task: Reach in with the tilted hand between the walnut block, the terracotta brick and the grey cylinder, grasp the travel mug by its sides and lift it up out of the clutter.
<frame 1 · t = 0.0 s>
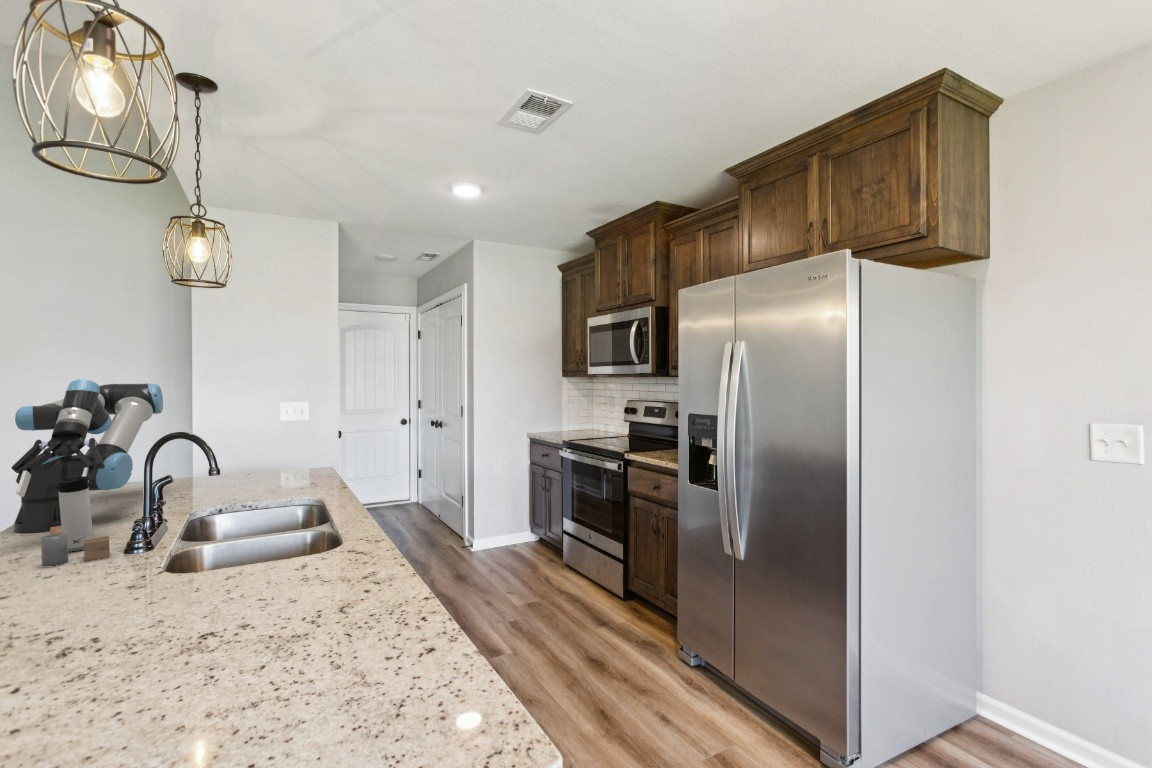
hand: (51, 492, 156), 16 cm above the worktop, tool tilted 35°, fingers open, 13 cm apart
terracotta brick: (63, 541, 164), on the worktop
walnut block: (97, 557, 149), on the worktop
grey cylinder: (55, 563, 145), on the worktop
travel mug: (79, 548, 157), on the worktop, touching gripper
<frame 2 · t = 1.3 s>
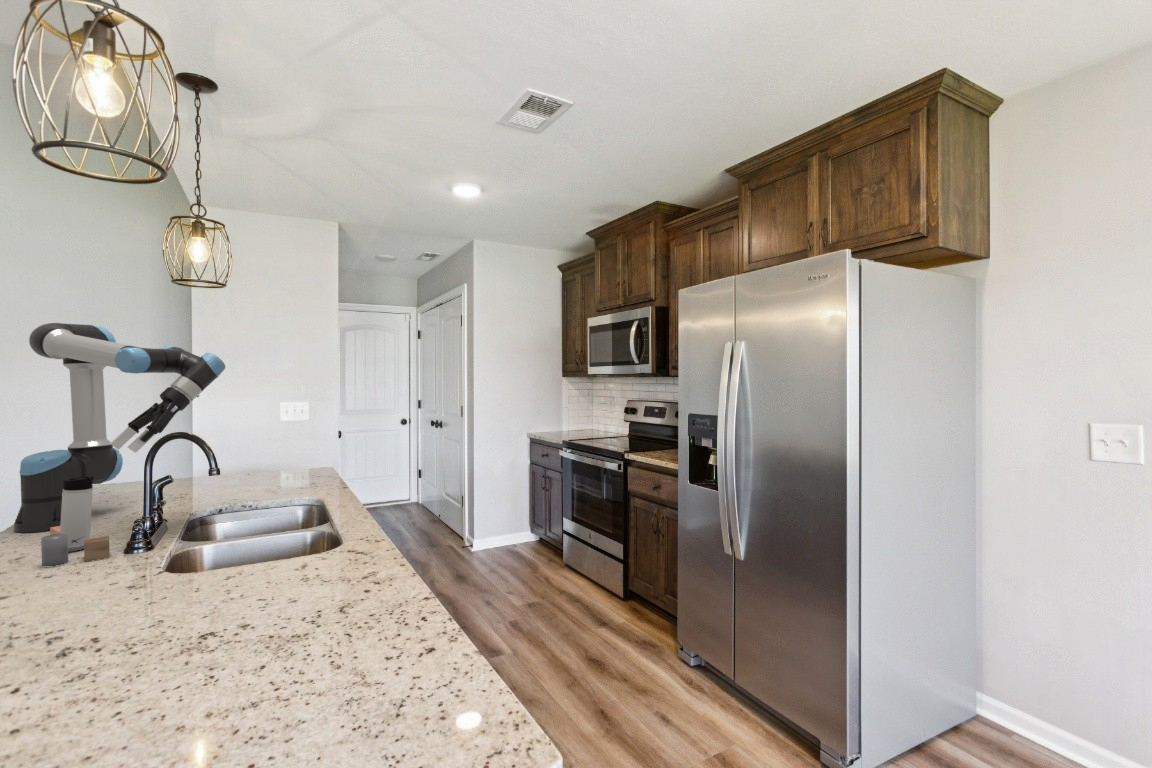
hand: (122, 448, 164), 27 cm above the worktop, tool tilted 45°, fingers open, 13 cm apart
travel mug: (74, 549, 156), on the worktop
everything else where it was.
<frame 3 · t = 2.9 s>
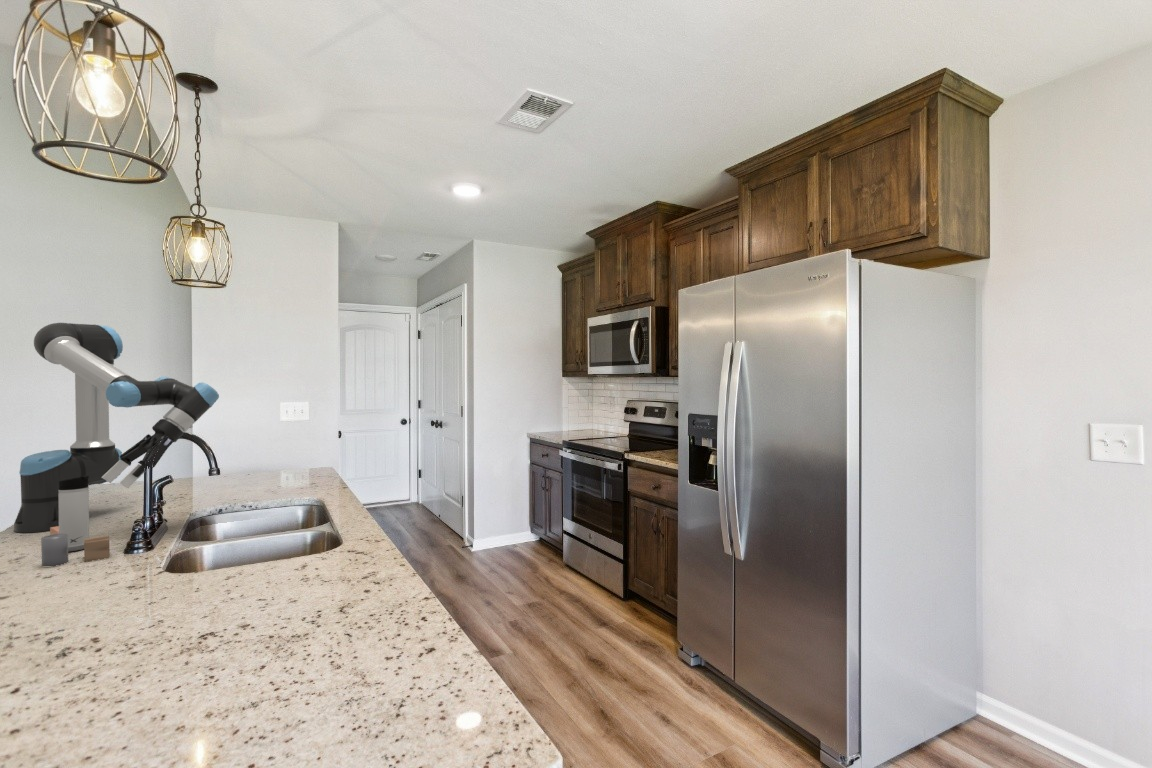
hand: (114, 482, 162), 17 cm above the worktop, tool tilted 45°, fingers open, 13 cm apart
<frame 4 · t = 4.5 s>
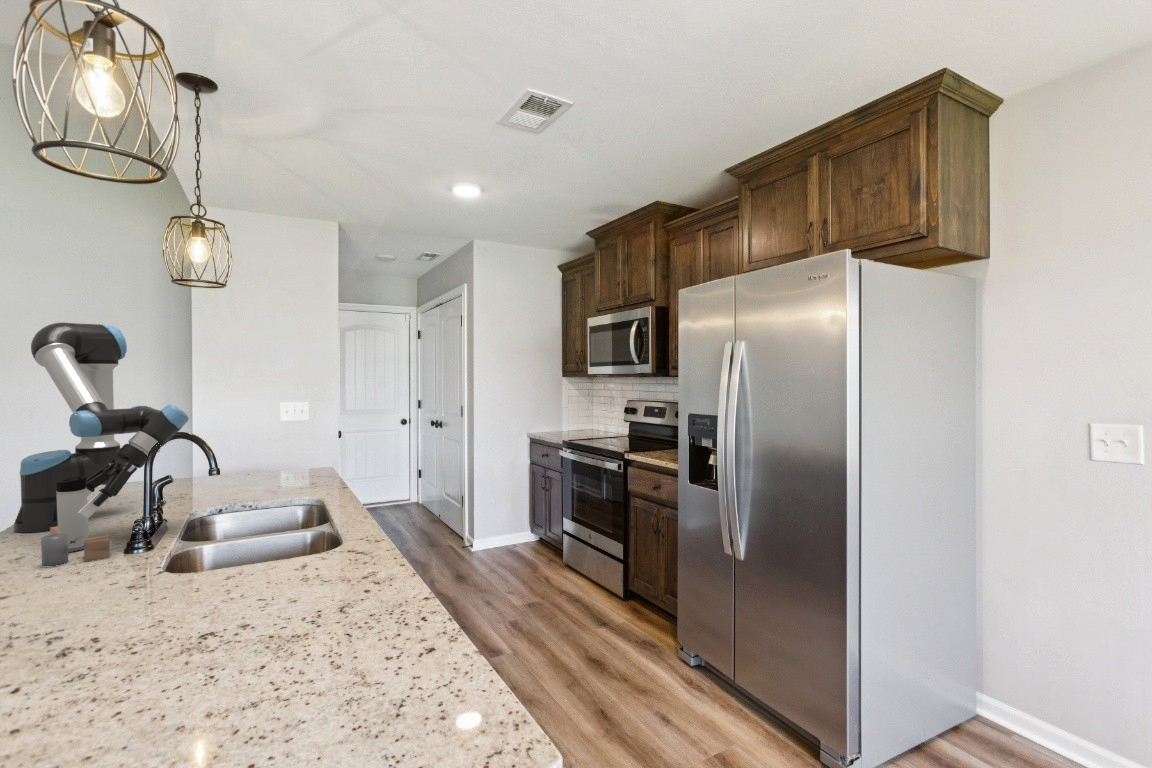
hand: (74, 511, 155), 11 cm above the worktop, tool tilted 45°, fingers open, 13 cm apart
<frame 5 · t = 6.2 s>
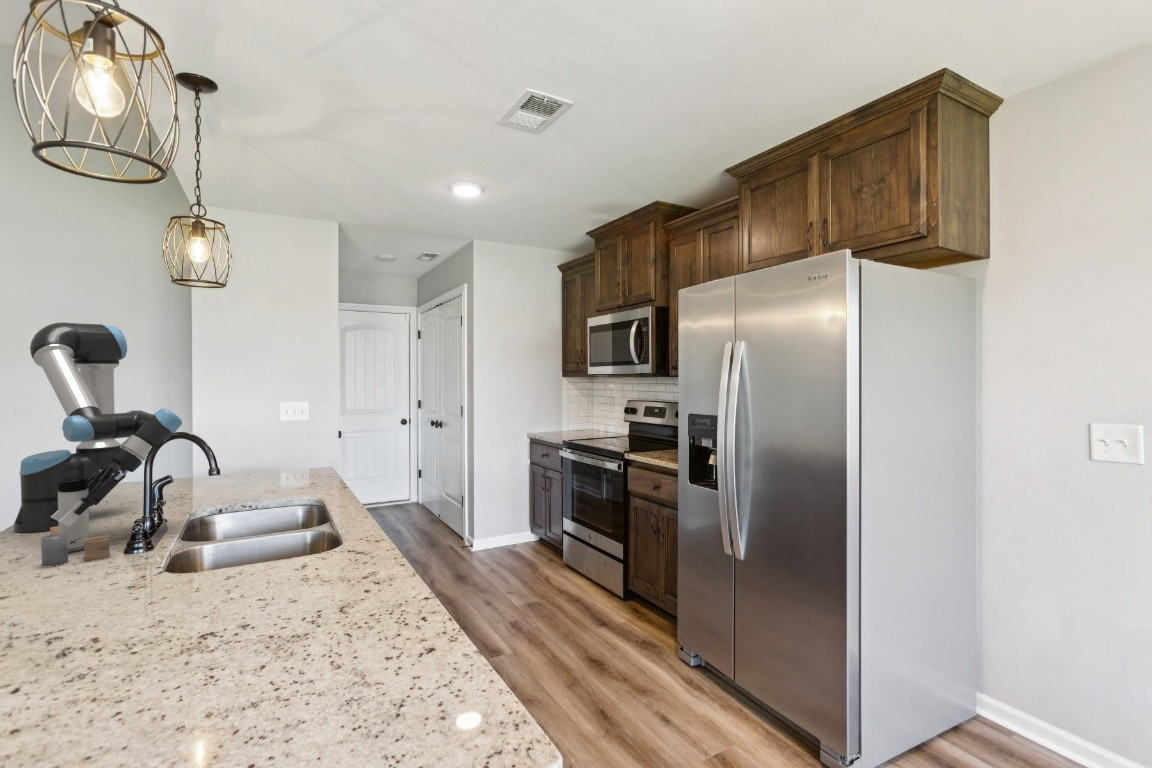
hand: (59, 521, 153), 8 cm above the worktop, tool tilted 45°, fingers closed on travel mug, 7 cm apart
travel mug: (74, 549, 156), on the worktop, touching gripper
everything else where it was.
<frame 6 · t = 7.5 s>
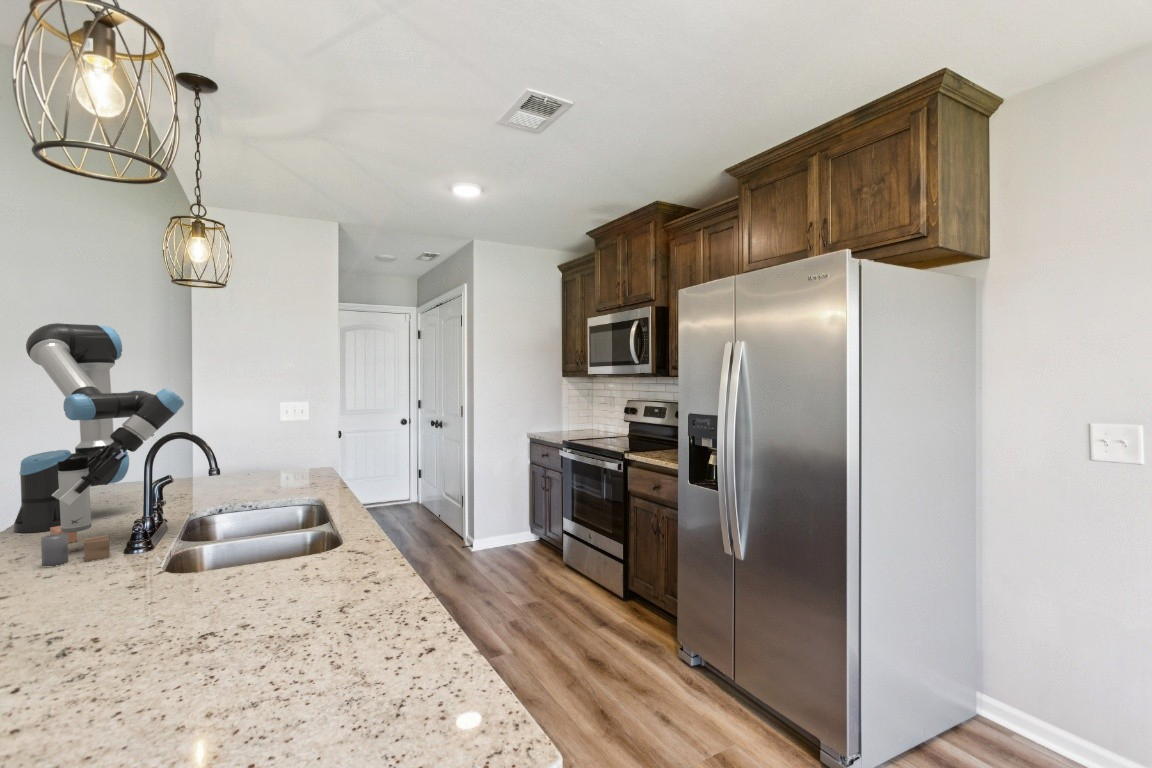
hand: (60, 500, 152), 14 cm above the worktop, tool tilted 45°, fingers closed on travel mug, 6 cm apart
travel mug: (77, 530, 155), point 6 cm above the worktop, touching gripper
everything else where it was.
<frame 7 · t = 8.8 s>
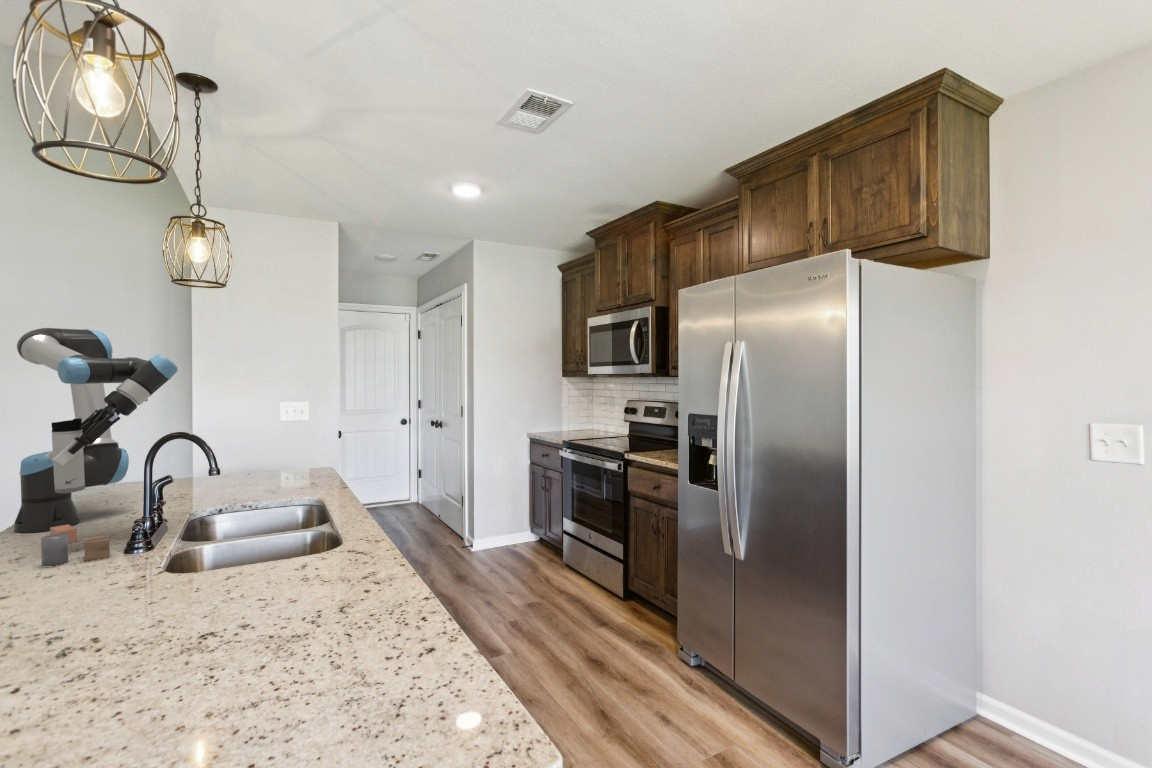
hand: (54, 460, 153), 25 cm above the worktop, tool tilted 45°, fingers closed on travel mug, 6 cm apart
travel mug: (70, 491, 156), point 16 cm above the worktop, touching gripper
everything else where it was.
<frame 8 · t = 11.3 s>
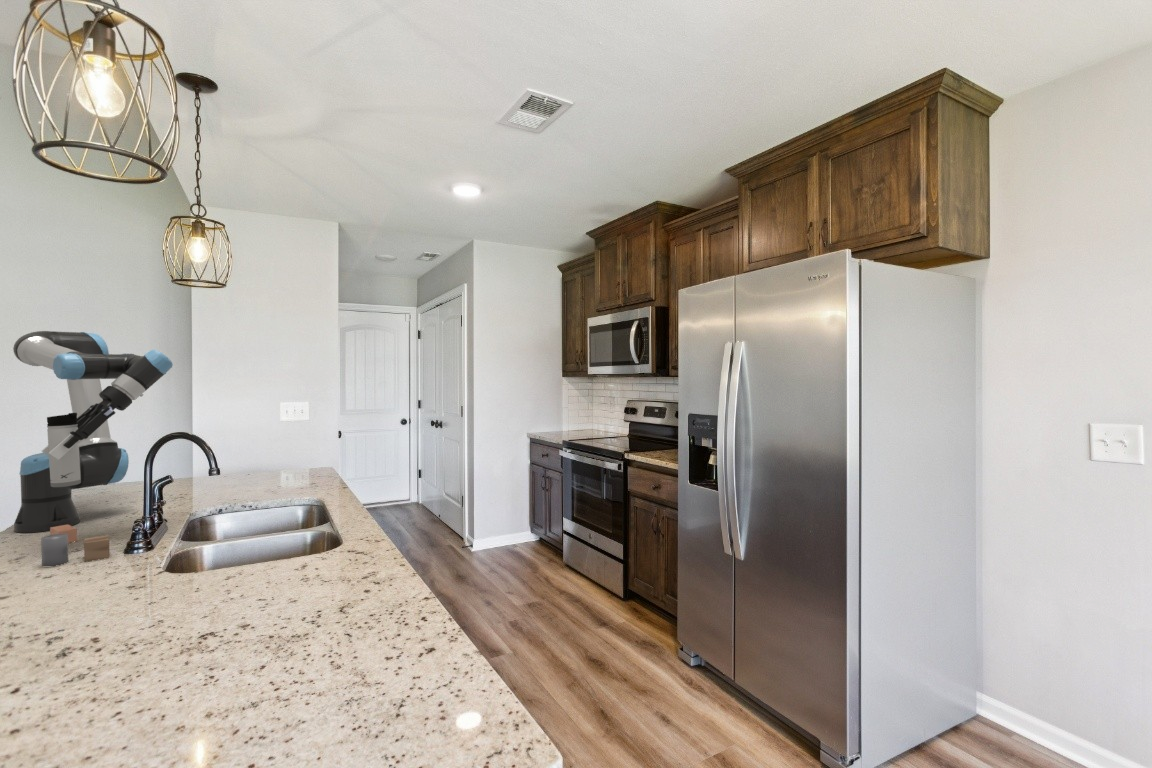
hand: (49, 455, 154), 26 cm above the worktop, tool tilted 45°, fingers closed on travel mug, 6 cm apart
travel mug: (66, 485, 157), point 17 cm above the worktop, touching gripper
everything else where it was.
at the end: the gripper is holding travel mug; travel mug point 17.4 cm above the worktop; travel mug tilted 1° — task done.
